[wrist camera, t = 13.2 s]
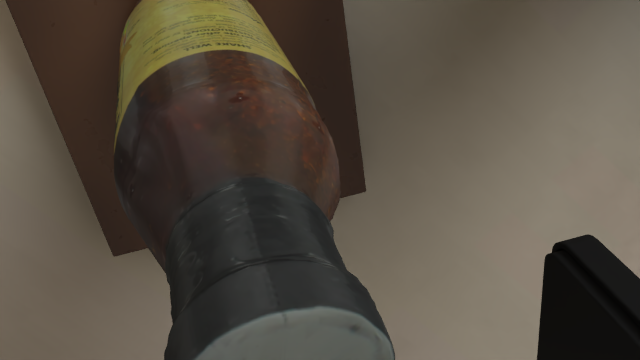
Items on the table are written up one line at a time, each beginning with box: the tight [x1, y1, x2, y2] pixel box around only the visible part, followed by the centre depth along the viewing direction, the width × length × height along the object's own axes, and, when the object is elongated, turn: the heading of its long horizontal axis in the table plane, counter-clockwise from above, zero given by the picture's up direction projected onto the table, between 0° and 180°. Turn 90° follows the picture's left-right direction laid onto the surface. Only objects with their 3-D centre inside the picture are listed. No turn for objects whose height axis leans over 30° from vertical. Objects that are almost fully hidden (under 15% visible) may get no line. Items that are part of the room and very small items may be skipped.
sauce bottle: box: [114, 0, 395, 360], centre depth 18 cm, size 7×6×20 cm
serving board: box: [6, 0, 366, 256], centre depth 27 cm, size 14×20×2 cm
